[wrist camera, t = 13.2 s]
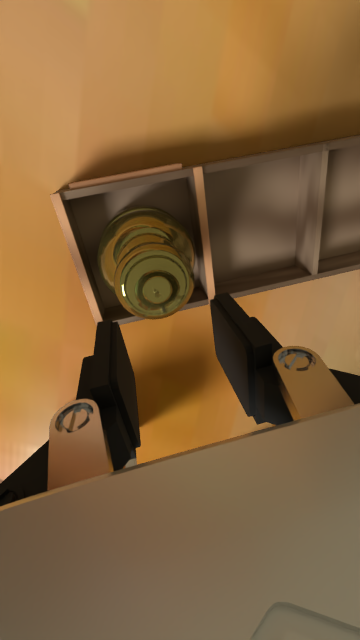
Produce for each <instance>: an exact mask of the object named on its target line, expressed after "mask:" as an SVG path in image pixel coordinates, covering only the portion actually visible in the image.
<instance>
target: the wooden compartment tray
mask: <svg viewBox="0 0 360 640" xmlns="http://www.w3.org/2000/svg"><path fill="white" fill-rule="evenodd" d="M69 187H70V188H69V189H64V190H58V191H56V192H55V193H53V194H50V197H51V200H52V203H53V205H54V208H55V211H56V214H57V217H58V219H59V222H60V225H61V228H62V231H63V233H64V236H65V239H66V242H67V245H68V247H69V250H70V253H71V256H72V259H73V261H74V264H75V267H76V270H77V273H78V275H79V278H80V281H81V284H82V287H83V289H84V292H85V295H86V298H87V301H88V303H89V306H90V309H91V312H92V315H93V317H94V320H95V323H96V326H97V323H98V322H101V321H105V320H109V319H112V321H113V322H116V321H117V322H118V324H119V325H122V324H126V323H130V322H135V321H139V320H143V319H144V318H141V317H138V316H135V315H133V314H132V313H130V312H129V311H128V310H126V309H125V308H124V307H123V305H122V304H121V303H120V301H119V299H118V297H117V296H116V295H115V294H114V293H112V292H111V291H110V290H109V288H108V287H107V286H106V284H105V283H104V281H103V279H102V277H101V275H100V272H99V269H98V263H97V253H98V247H99V242H100V238H101V235H102V233H103V231H104V228H105V226H106V225H107V223H108V222H109V220H110V219H111V218H112V217H113V216H114V215H115V214H116V213H118V212H119V211H121V210H123V209H124V208H127V207H130V206H133V205H151V206H155V207H158V208H160V209H162V210H164V211H166V212H167V213H169V214H171V215H172V216H173V217H174V218H175V219H176V220H178V221H179V222H180V223H181V224H182V225H183V226H184V227H185V229H186V230H187V231H188V233H189V235H190V237H191V239H192V241H193V244H194V249H195V266H194V271H193V272H194V288H193V292H192V295H191V297H190V299H189V300H188V302H187V303H186V304H185V306H184V307H183V308H181V309H180V310H179V311H182V310H186V309H190V308H195V307H199V306H203V305H207V304H209V305H210V300H211V299H214V295H218V294H222V293H226V292H228V293H229V294H230V296H231V297H232V298H237V297H242V296H246V295H250V294H255V293H259V292H263V291H267V290H272V289H276V288H280V287H285V286H289V285H293V284H297V283H302V282H306V281H310V280H315V279H319V278H323V277H328V276H332V275H336V274H340V273H345V272H349V271H353V270H358V269H360V135H355V136H349V137H344V138H339V139H333V140H328V141H323V142H317V143H312V144H306V145H301V146H296V147H290V148H285V149H279V150H274V151H269V152H263V153H258V154H252V155H247V156H242V157H236V158H231V159H225V160H220V161H215V162H209V163H204V164H198V165H193V166H188V167H182V163H176V164H170V165H165V166H159V167H154V168H148V169H143V170H138V171H132V172H127V173H121V174H116V175H110V176H105V177H99V178H94V179H89V180H83V181H78V182H73V183H70V184H69Z"/></svg>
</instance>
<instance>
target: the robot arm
mask: <svg viewBox="0 0 360 640" xmlns="http://www.w3.org/2000/svg"><path fill="white" fill-rule="evenodd" d="M210 307H211V316H212V324H213V333H214V342H215V351H216V355H217V358H218V360H219V362H220V364H221V366H222V368H223V370H224V372H225V374H226V376H227V378H228V380H229V381H230V383H231V385H232V387H233V389H234V391H235V393H236V395H237V397H238V399H239V401H240V403H241V404H242V406H243V408H244V410H245V412H246V414H247V416H248V417H250V416H253V418H254V419H255V421H256V423H257V424H261V423H264V422H268V423H271V424H272V426H273V427H270V428H266V429H262V430H259V431H255V432H252V433H248V434H245V435H241V436H237V437H234V438H230V439H227V440H223V441H220V442H216V443H212V444H209V445H205V446H202V447H198V448H195V449H191V450H188V451H184V452H180V453H177V454H173V455H170V456H166V457H163V458H159V459H156V460H152V461H149V462H145V463H142V464H138V465H135V466H131V467H128V468H124V466H125V465H126V464H127V462H128V461H129V460H131V459H135V458H136V448H137V447H140V446H141V442H140V431H139V419H138V408H137V396H136V385H135V377H134V372H133V369H132V366H131V363H130V359H129V356H128V353H127V350H126V346H125V343H124V340H123V337H122V333H121V330H120V327H119V324H118V322H117V321H116V322H113V321H112V319H109V320H105V321H101V322H98V323H97V330H96V339H95V347H94V355H93V356H88V357H85V358H83V362H82V368H81V374H80V380H79V385H78V391H77V397H76V400H75V401H72V402H70V403H68V404H66V405H65V406H63V407H62V408H60V409H59V410H58V411H57V412H56V413H55V415H54V416H53V418H52V420H51V422H50V427H49V440H48V441H47V442H46V443H45V444H44V445H43V446H42V447H40V448H39V449H38V450H37V451H36V452H35V453H34V454H33V455H32V456H31V457H29V458H28V459H27V460H26V461H25V462H24V463H23V464H22V465H21V466H19V467H18V468H17V469H16V470H15V471H14V472H13V473H12V474H11V475H10V476H8V477H7V478H6V479H5V480H4V481H3V482H2V483H1V484H0V640H360V376H358V375H354V374H350V373H346V372H341V371H337V370H333V369H329V368H328V367H327V366H326V364H325V363H324V362H323V360H322V359H321V358H320V356H319V355H318V354H317V353H316V352H314V351H312V350H311V349H308V348H305V347H300V346H287V347H282V346H281V345H280V344H279V342H278V341H277V340H276V339H275V338H274V337H273V336H272V335H271V334H270V333H269V331H268V330H267V329H266V328H265V327H264V326H263V325H262V324H261V323H260V322H259V321H258V319H257V318H255V317H249V316H248V315H247V314H246V313H245V312H244V310H243V309H242V308H241V307H240V306H239V305H238V304H237V302H236V301H235V300H234V299H233V298H232V297H231V296H230V294H229V293H228V292H226V293H222V294H218V295H214V299H211V300H210Z"/></svg>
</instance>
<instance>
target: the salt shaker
mask: <svg viewBox="0 0 360 640" xmlns="http://www.w3.org/2000/svg"><path fill="white" fill-rule="evenodd" d="M97 263H98V269H99V272H100V275H101V277H102V279H103V281H104V283H105V284H106V286H107V287H108V288H109V290H110V291H111V292H112V293H114V294H115V295H116V296H117V297H118V299H119V301H120V303H121V304H122V305H123V307H124V308H125V309H126V310H128V311H129V312H130V313H132V314H133V315H135V316H138V317H141V318H144V319H162V318H166V317H168V316H171V315H173V314H175V313H176V312H178V311H179V310H180V309H181V308H183V307H184V306H185V304H186V303H187V302H188V300H189V299H190V297H191V295H192V292H193V288H194V272H193V271H194V266H195V249H194V244H193V241H192V239H191V237H190V235H189V233H188V231H187V230H186V229H185V227H184V226H183V225H182V224H181V223H180V222H179V221H178V220H176V219H175V218H174V217H173V216H172V215H171V214H169V213H167V212H166V211H164V210H162V209H160V208H158V207H155V206H151V205H133V206H130V207H127V208H124V209H123V210H121V211H119V212H118V213H116V214H115V215H114V216H113V217H112V218H111V219H110V220H109V222H108V223H107V225H106V226H105V228H104V231H103V233H102V235H101V238H100V242H99V247H98V253H97Z"/></svg>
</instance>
